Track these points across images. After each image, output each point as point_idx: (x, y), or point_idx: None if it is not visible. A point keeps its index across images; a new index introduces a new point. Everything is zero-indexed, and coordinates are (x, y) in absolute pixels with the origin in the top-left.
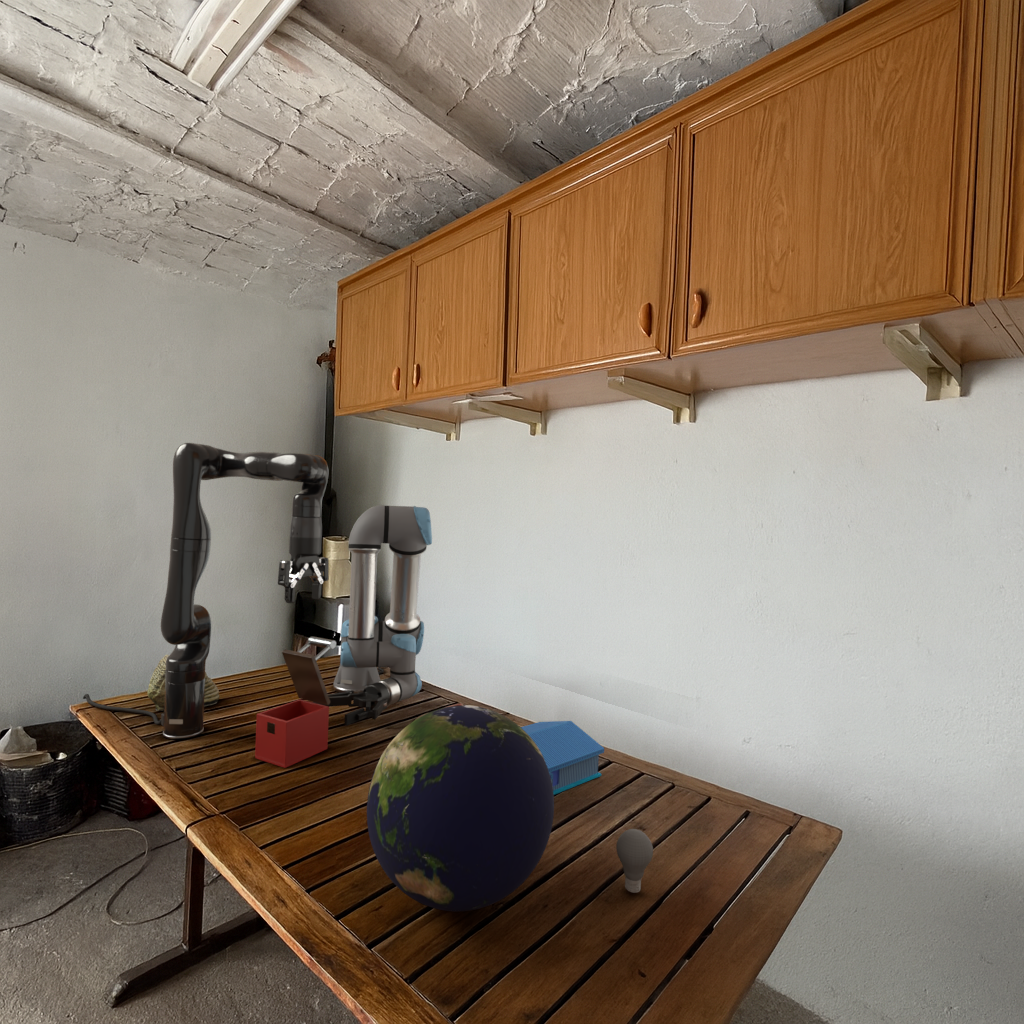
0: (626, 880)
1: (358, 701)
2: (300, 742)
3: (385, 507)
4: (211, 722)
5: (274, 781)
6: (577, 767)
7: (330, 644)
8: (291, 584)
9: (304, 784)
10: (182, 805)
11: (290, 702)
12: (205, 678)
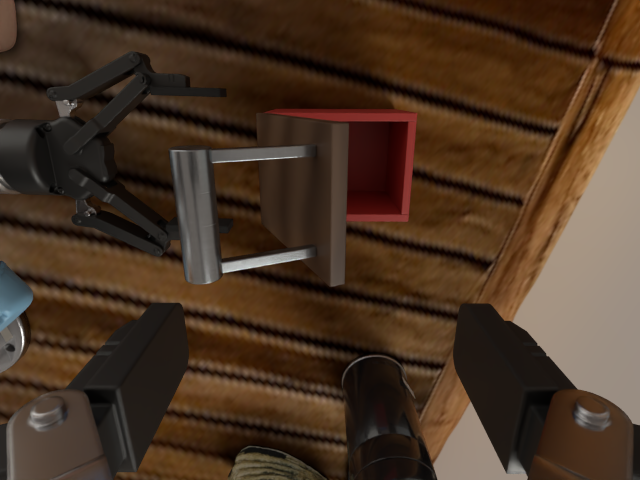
0: None
1: (107, 161)
2: (359, 110)
3: None
4: (311, 384)
5: (450, 78)
6: None
7: (207, 147)
8: (626, 424)
9: (434, 11)
10: (592, 139)
11: None
12: None
